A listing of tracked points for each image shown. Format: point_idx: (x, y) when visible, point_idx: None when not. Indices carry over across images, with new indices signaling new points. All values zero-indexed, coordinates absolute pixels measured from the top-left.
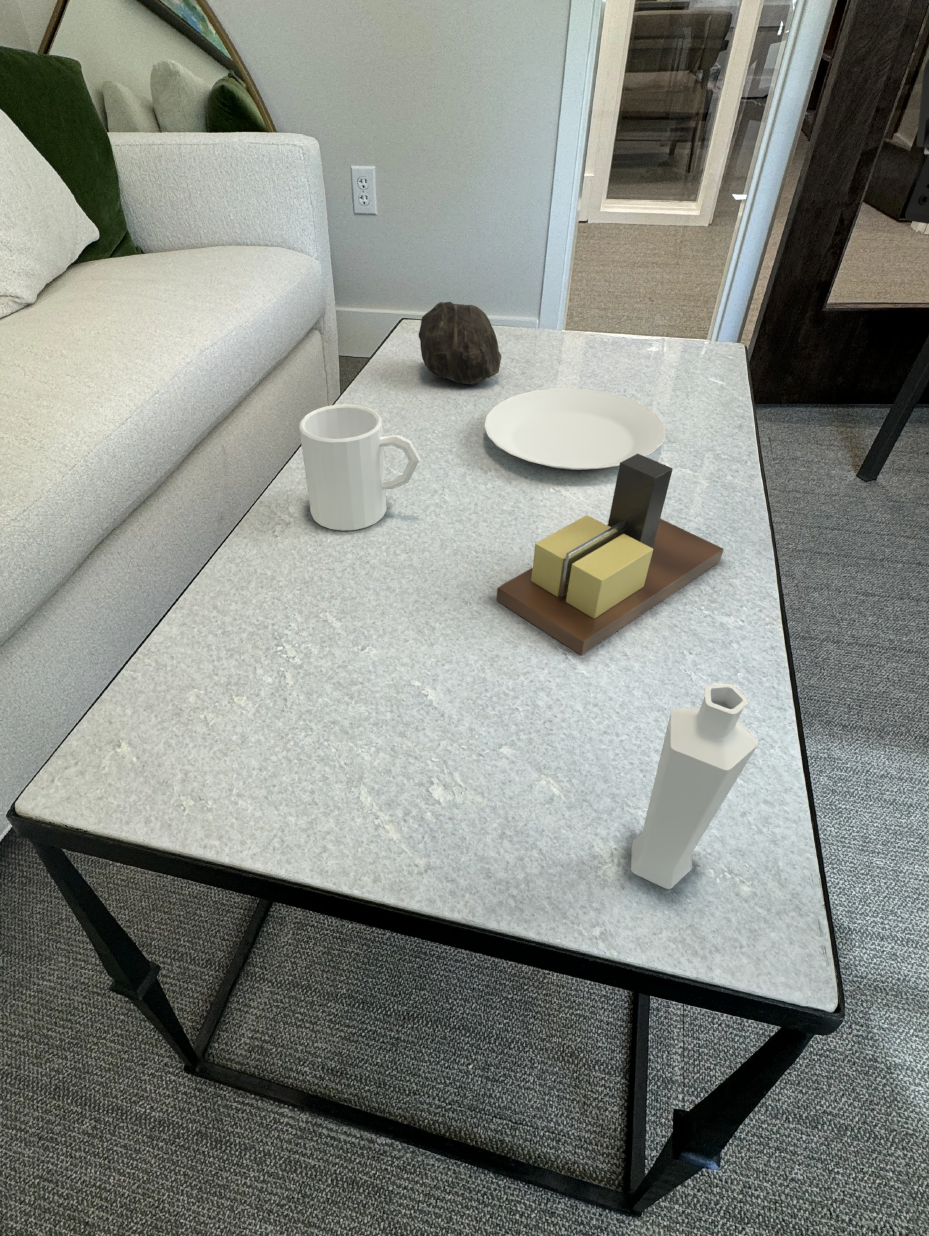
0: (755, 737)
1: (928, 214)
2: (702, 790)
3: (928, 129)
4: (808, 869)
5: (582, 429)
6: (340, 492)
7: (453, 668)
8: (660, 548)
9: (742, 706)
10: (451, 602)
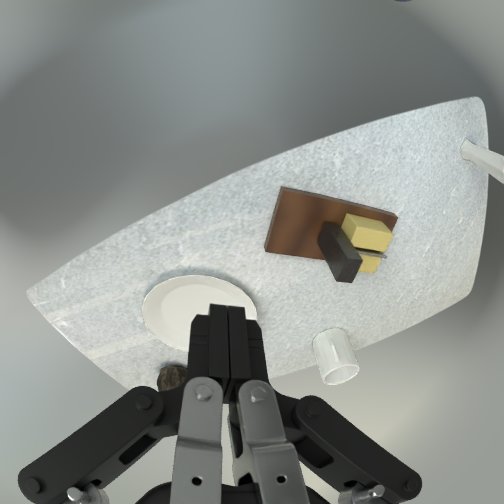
0: None
1: (254, 321)
2: None
3: (307, 437)
4: (455, 101)
5: (183, 314)
6: (351, 346)
7: (414, 250)
8: (304, 221)
9: None
10: (377, 274)
